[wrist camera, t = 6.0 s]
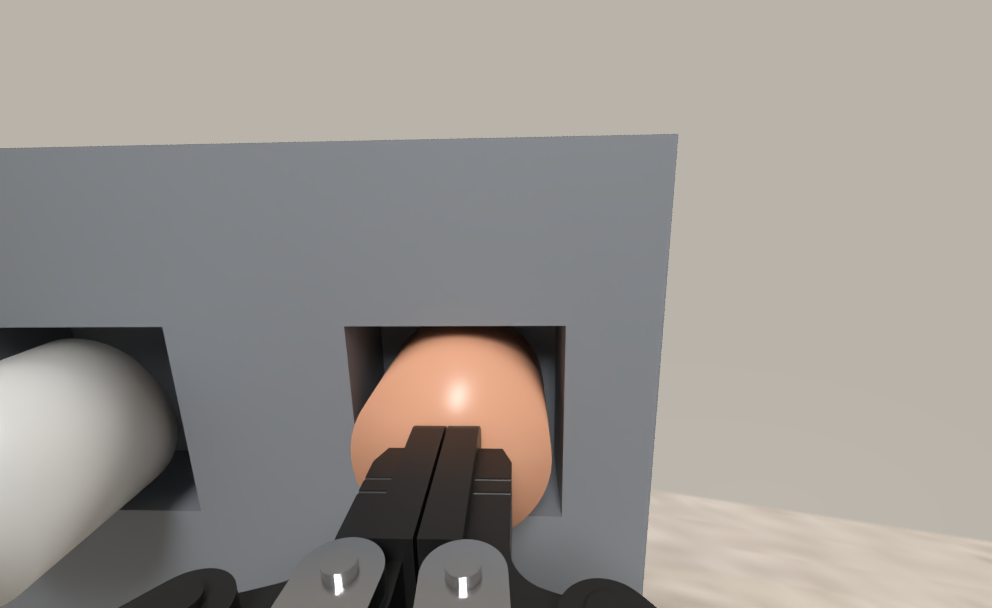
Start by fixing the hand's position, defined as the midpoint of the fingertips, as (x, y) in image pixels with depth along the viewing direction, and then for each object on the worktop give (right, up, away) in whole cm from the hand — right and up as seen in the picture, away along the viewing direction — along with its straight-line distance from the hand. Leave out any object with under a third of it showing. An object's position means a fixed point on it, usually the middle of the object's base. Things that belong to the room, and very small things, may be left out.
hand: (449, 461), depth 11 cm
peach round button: (0, -2, +3) cm, 3 cm away
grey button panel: (-10, -7, +7) cm, 14 cm away
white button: (-10, -2, +1) cm, 10 cm away
